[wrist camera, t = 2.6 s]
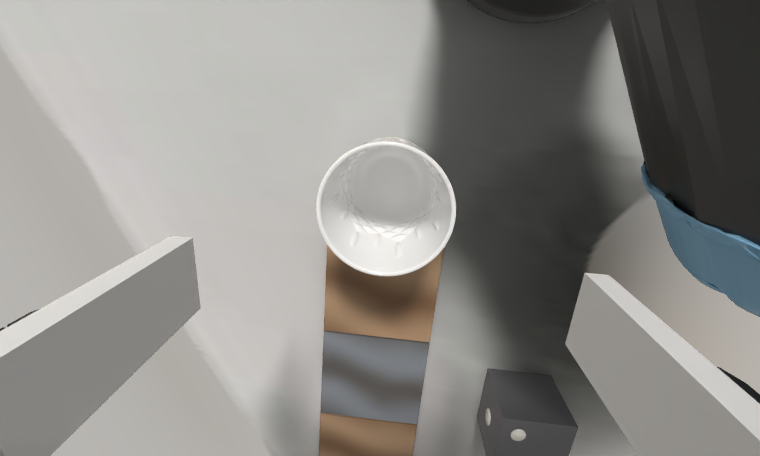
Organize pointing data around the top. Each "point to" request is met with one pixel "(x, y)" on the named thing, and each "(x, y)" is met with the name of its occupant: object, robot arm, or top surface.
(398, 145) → the white cup
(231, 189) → the top surface
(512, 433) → the die
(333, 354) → the board
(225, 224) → the top surface
